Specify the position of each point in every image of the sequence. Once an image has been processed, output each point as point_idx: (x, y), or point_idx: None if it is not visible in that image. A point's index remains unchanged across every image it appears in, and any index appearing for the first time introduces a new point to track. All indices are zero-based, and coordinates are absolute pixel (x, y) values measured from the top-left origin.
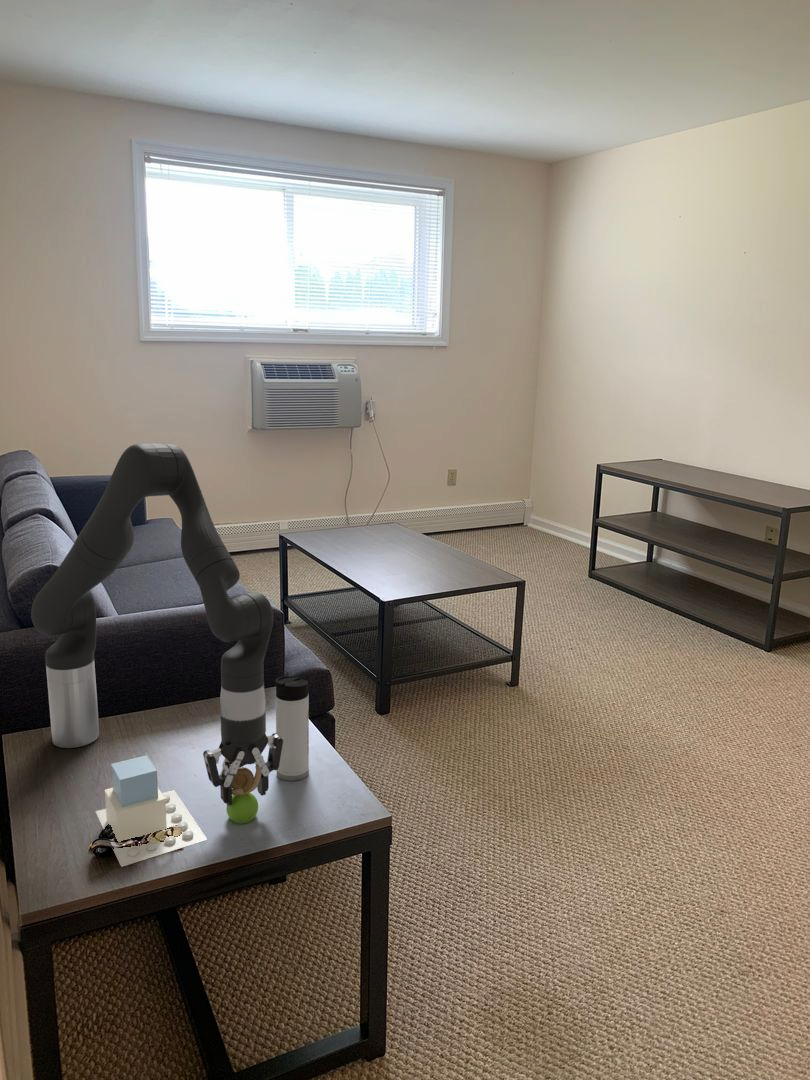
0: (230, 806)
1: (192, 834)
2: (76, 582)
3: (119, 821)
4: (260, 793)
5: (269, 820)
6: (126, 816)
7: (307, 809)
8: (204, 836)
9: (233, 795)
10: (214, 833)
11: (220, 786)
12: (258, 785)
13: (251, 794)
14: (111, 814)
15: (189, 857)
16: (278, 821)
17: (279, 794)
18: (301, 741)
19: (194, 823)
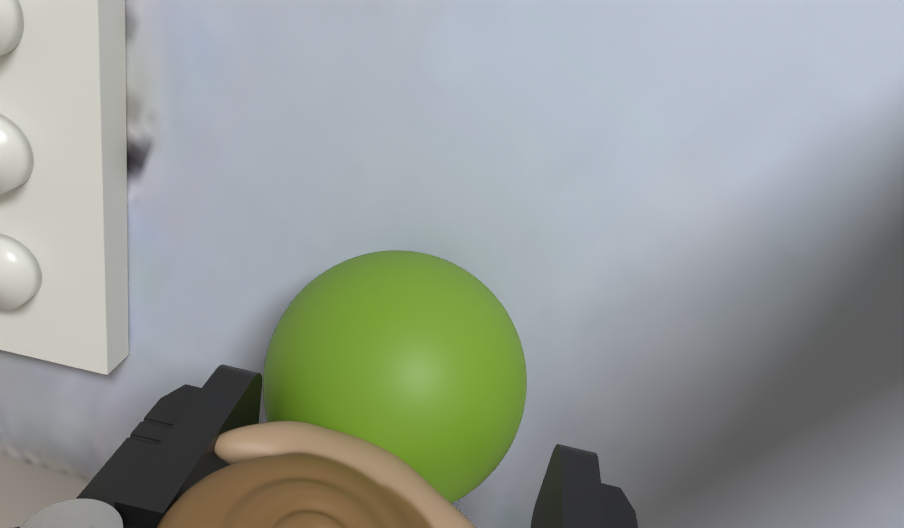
0: (265, 408)
1: (18, 302)
2: None
3: None
4: (539, 501)
5: (565, 411)
6: None
7: (839, 484)
8: (100, 340)
9: (311, 394)
10: (208, 288)
11: (86, 490)
12: (554, 508)
13: (457, 478)
14: None
15: (5, 374)
16: (600, 454)
17: (879, 210)
18: None
19: (87, 167)
